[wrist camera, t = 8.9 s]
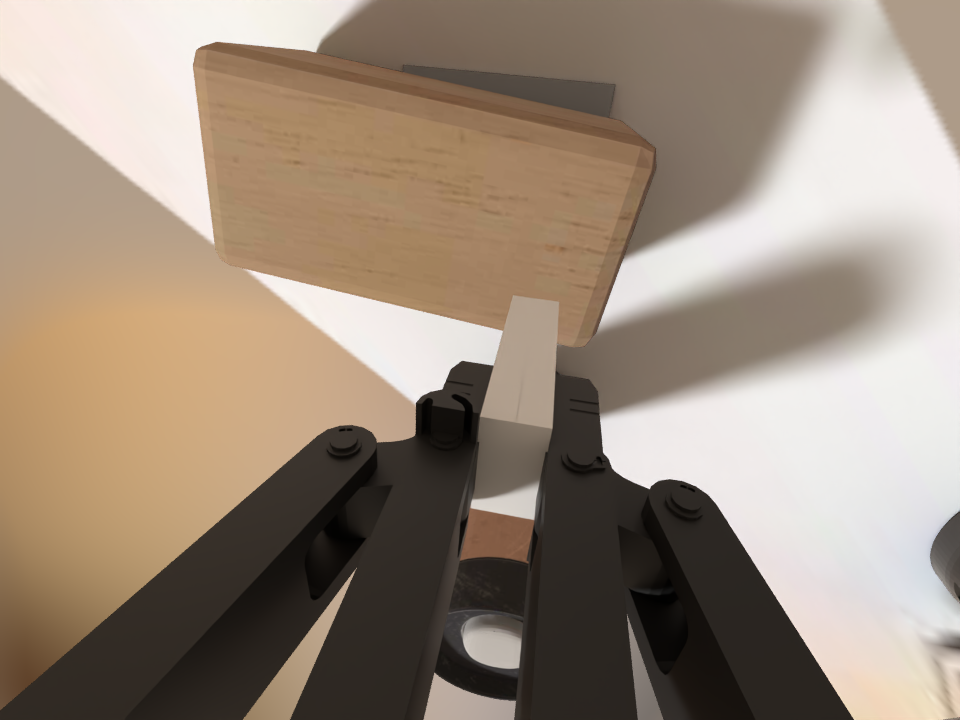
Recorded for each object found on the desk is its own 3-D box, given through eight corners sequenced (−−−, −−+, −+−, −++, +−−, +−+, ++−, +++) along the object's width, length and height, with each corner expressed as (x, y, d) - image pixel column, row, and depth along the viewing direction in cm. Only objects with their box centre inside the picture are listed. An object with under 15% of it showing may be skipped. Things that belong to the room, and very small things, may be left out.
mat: (614, 84, 26) (615, 84, 26) (567, 324, 34) (567, 326, 34) (404, 64, 27) (403, 64, 27) (405, 302, 35) (404, 303, 35)
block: (636, 123, 27) (297, 47, 27) (670, 145, 18) (177, 35, 19) (583, 284, 32) (301, 218, 33) (590, 359, 23) (208, 268, 24)
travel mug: (468, 416, 40) (396, 669, 23) (498, 343, 36) (438, 585, 19) (552, 447, 40) (544, 719, 23) (592, 378, 36) (616, 646, 19)
